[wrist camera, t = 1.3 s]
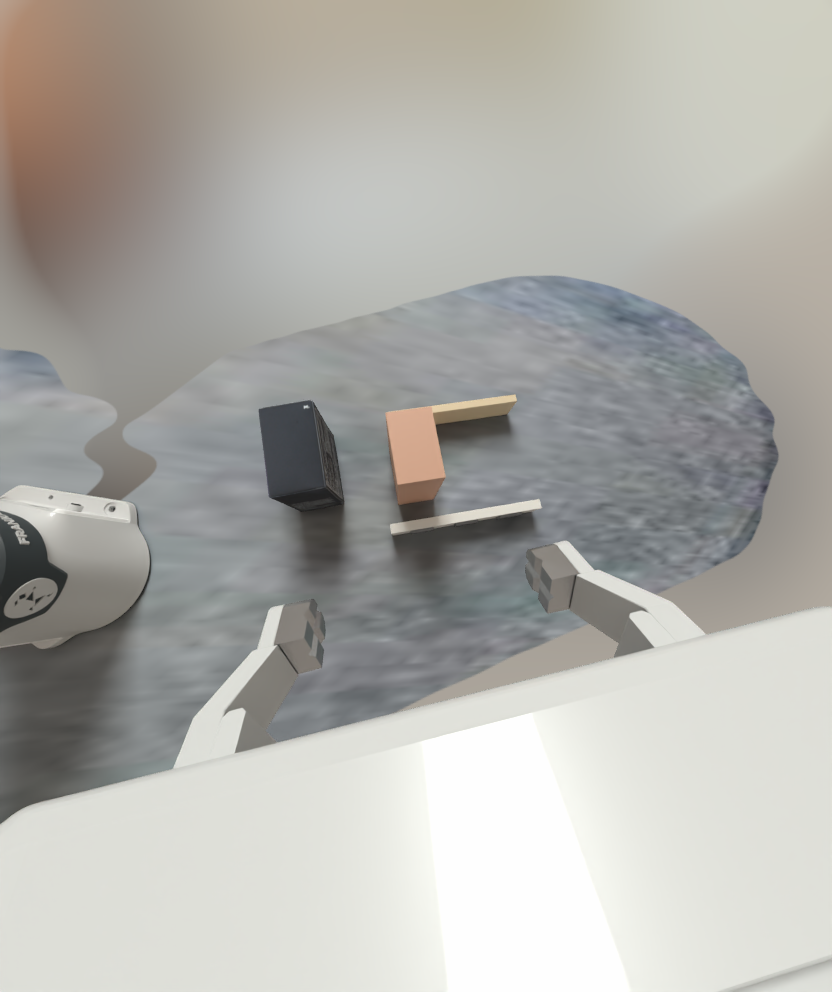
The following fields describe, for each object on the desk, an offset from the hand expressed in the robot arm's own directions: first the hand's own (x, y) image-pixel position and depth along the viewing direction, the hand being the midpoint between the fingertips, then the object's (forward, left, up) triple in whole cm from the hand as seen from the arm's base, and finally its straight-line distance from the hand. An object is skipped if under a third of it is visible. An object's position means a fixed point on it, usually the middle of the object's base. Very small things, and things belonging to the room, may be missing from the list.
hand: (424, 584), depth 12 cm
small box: (-16, +8, -31) cm, 36 cm away
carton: (-4, +12, -30) cm, 33 cm away
